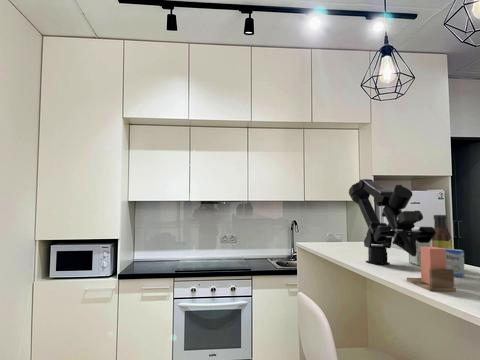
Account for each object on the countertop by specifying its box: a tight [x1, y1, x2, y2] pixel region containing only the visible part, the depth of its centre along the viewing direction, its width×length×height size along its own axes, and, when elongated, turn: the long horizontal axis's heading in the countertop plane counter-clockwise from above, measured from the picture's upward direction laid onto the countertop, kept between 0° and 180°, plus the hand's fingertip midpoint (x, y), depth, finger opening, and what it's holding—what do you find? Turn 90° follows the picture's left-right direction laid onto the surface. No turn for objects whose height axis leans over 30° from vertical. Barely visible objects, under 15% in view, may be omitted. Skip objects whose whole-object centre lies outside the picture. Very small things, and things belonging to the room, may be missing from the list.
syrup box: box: [408, 226, 432, 267], centre depth 122 cm, size 6×6×14 cm
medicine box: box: [442, 248, 466, 278], centre depth 104 cm, size 8×4×9 cm, turn 47°
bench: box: [406, 269, 457, 293], centre depth 90 cm, size 12×7×6 cm, turn 1°
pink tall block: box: [420, 246, 446, 285], centre depth 88 cm, size 4×4×10 cm
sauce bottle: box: [431, 214, 453, 249], centre depth 113 cm, size 6×6×20 cm
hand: (414, 255), depth 97 cm, fingers closed
